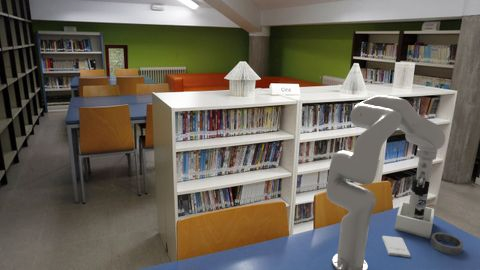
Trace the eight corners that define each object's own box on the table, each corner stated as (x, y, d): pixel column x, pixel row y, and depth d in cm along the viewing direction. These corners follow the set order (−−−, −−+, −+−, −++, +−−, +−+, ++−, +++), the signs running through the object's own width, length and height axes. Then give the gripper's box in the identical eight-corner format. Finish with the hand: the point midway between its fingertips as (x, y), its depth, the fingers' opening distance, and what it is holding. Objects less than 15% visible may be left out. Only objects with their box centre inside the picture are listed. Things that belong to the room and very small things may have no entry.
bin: (429, 238, 151) (432, 224, 149) (394, 229, 157) (396, 215, 156) (431, 222, 164) (434, 208, 162) (399, 214, 171) (401, 201, 169)
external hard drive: (402, 241, 150) (410, 258, 138) (381, 238, 151) (388, 255, 139) (402, 237, 149) (411, 254, 137) (382, 235, 151) (388, 252, 139)
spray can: (412, 226, 156) (420, 184, 151) (402, 218, 163) (409, 178, 157) (425, 224, 158) (433, 183, 152) (415, 217, 164) (422, 177, 158)
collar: (461, 257, 138) (463, 251, 137) (429, 248, 143) (431, 242, 143) (461, 244, 147) (462, 237, 147) (431, 236, 153) (432, 229, 152)
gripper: (435, 161, 142) (427, 201, 147) (437, 150, 157) (429, 187, 162) (415, 157, 146) (408, 197, 151) (418, 147, 160) (411, 183, 165)
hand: (419, 191), depth 156 cm, fingers closed on spray can, 6 cm apart
